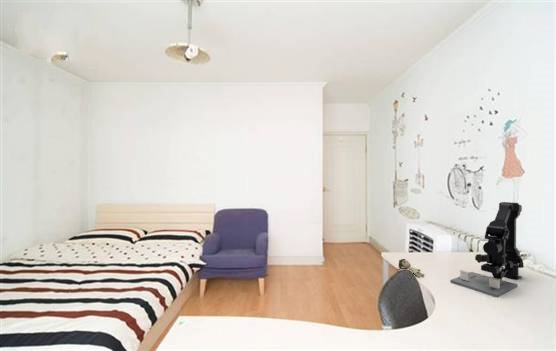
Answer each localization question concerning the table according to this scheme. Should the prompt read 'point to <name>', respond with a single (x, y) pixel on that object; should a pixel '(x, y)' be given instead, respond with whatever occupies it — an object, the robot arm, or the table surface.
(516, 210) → the robot arm
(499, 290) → the console
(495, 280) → the fader
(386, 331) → the table surface
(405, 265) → the figurine
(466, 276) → the fader
